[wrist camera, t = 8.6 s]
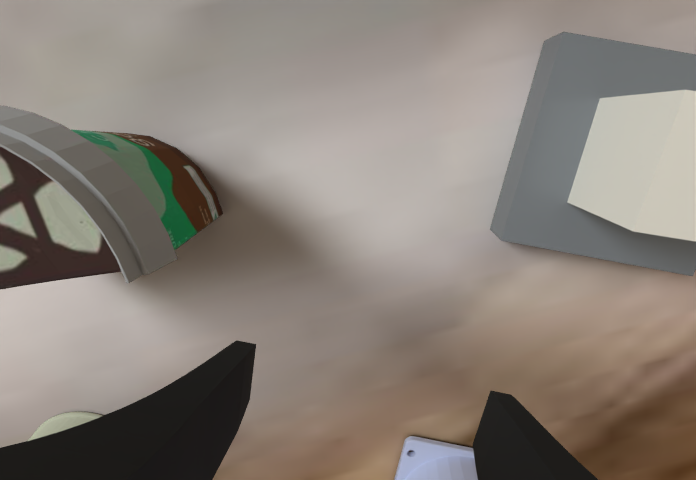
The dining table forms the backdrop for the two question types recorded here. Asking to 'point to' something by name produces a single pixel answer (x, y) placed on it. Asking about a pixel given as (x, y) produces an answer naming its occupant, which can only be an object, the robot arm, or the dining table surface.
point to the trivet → (568, 145)
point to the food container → (92, 201)
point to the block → (642, 164)
